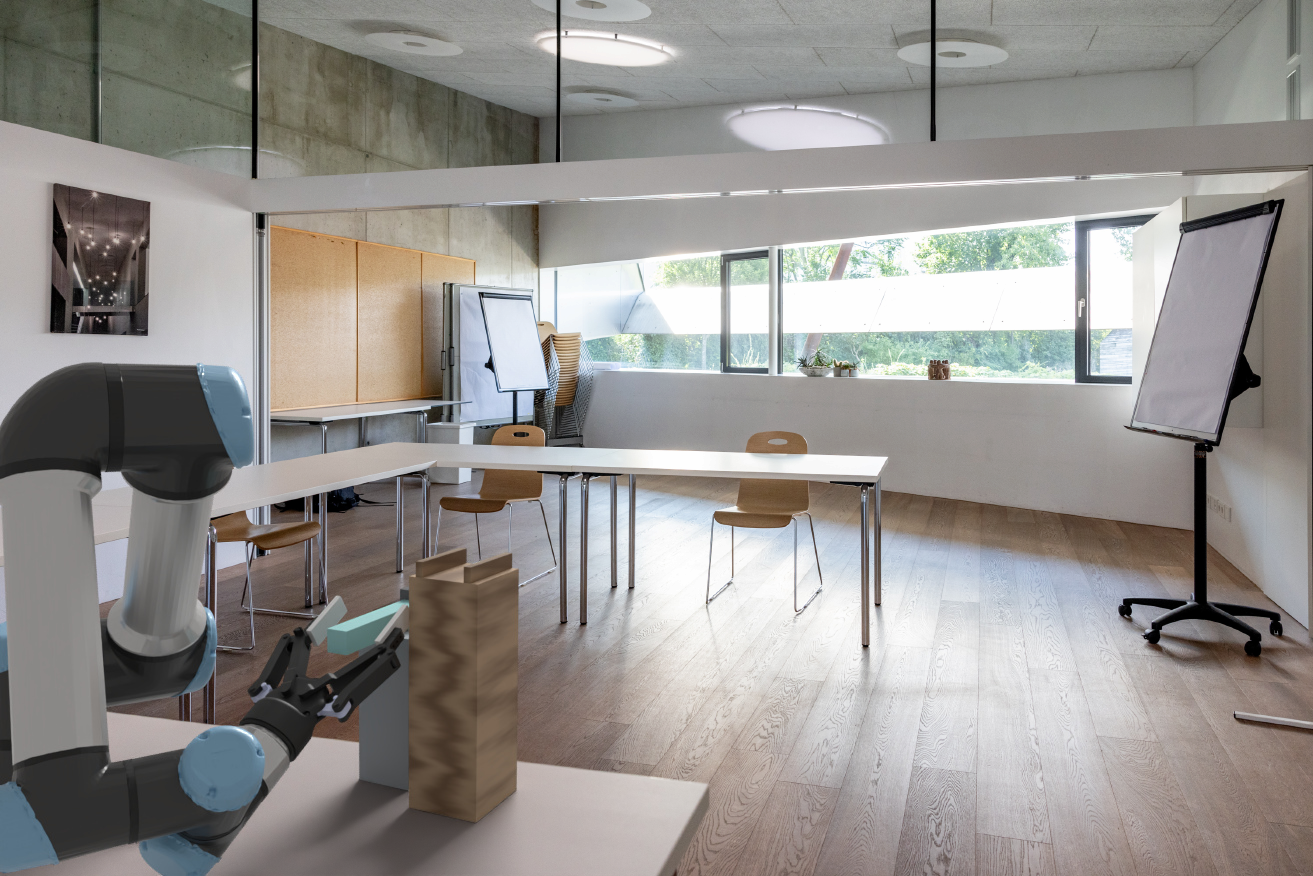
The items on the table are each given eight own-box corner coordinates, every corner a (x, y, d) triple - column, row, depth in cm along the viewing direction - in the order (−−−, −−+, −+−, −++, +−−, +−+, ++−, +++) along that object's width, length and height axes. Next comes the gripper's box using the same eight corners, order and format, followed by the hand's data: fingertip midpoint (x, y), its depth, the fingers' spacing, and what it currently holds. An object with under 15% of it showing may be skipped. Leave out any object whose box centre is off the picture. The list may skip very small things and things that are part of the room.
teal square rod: (322, 651, 117) (322, 616, 117) (418, 612, 136) (418, 582, 135) (351, 656, 115) (351, 621, 115) (444, 615, 134) (444, 585, 134)
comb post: (408, 807, 120) (409, 560, 117) (453, 776, 129) (454, 547, 127) (476, 822, 116) (477, 568, 114) (516, 789, 125) (518, 553, 123)
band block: (359, 779, 127) (358, 630, 126) (395, 757, 135) (395, 616, 133) (408, 790, 125) (408, 637, 123) (442, 767, 132) (443, 622, 130)
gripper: (203, 749, 112) (316, 618, 129) (356, 783, 103) (455, 639, 121) (175, 707, 108) (296, 577, 125) (333, 738, 99) (439, 595, 117)
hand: (374, 607), depth 123 cm, fingers open, 10 cm apart
